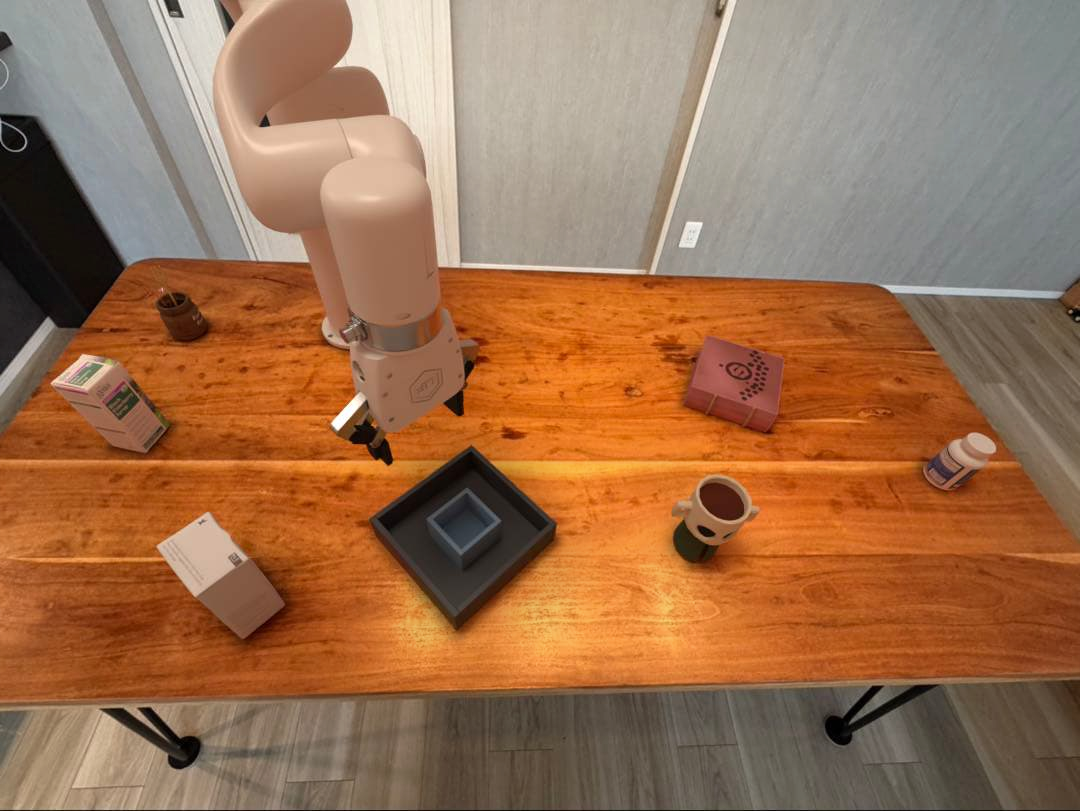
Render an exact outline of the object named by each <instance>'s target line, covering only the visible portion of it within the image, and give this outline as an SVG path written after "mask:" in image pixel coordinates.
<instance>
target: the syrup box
mask: <svg viewBox="0 0 1080 811" xmlns="http://www.w3.org/2000/svg"><path fill="white" fill-rule="evenodd" d="M50 385H51V387H52V388H53V389H54V390H55V391H56V392H57V393H59V395H61V397H63V399H64V400H65V401H67V402H68V403H69V405H70V406H72V407H73V409H75V410H76V411H77V412H78V413H79V414H80V415H81V416H82V418H84V419H85V420H86V421H87V422H88V423H89V424H90V425H91V426H92V427H93V428H94V429H95V430H96V431H97V432H98V433H99V434H100V435H101V436H102V437H103V438H104V439H105V440H106V441H107V442H108V443H109V444H110V445H111V446H112V447H115V448H120V449H123V450H128V451H133V452H138V453H142V454H148V453H149V451H150V449H151V448H152V447H153V446H154V445H155V444H156V443H157V441H158V440H159V439H160V438H161V437H162V436H163V435H164V434H165V432H166V431H167V430H168V429H169V428H170V427H171V424H170V422H169V421H168V420H167V419H166V417H165V416H164V415H163V414H162V413H161V411H160V410H159V409H158V408H157V406H156V405H155V404H154V403H153V402H152V400H151V399H150V397H148V395H147V394H146V393H145V391H144V390H143V389H142V387H141V386H140V385H139V384H138V383H137V382H136V381H135V379H134V378H133V376H132V375H131V374H130V373H129V372H128V370H127V369H126V368H125V367H124V365H122V363H121V362H120V361H119V360H115V359H111V358H108V357H103V356H97V355H90V354H86V353H85V354H84V353H82V354H81V355H80V356H79V358H78V359H77V360H76V361H74V362H73V363H72V364H71V365H70V366H68V367H67V368H66V369H64V371H63V372H61V373H60V374H59V375H58V376H57V377H56V378H54V379H53V380H52V381H51V382H50Z"/></svg>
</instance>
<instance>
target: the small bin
mask: <svg viewBox="0 0 1080 811" xmlns="http://www.w3.org/2000/svg"><path fill="white" fill-rule="evenodd" d="M501 522H502V521H501V520H500V519H499V518H498V517H497V516H496V515H495V514H494V513H493V512H492V511H491V510H490V509H489V508H488V507H487V506H486V505H485V504H484V503H483V502H482V501H481V500H480V499H479V498H478V497H477V496H476V495H475V494H473V493H472V492H471V491H470V490H469V489H468V488H466V489H465V490H463V491H462V492H461V493H459V494H458V495H457V496H456V497H454V498H453V499H452V500H450V501H449V502H448V503H446V504H445V505H444V506H443V507H441V508H440V509H439V510H437V511H436V512H435V513H433V514H432V515H431V516H430V517H428V518H427V524H428V529H429V533H430V536H431V538H432V539H433V540H434V541H435V542H436V543H437V544H438V545H439V546H440V547H441V548H442V549H443V551H444V552H445V553H446V554H447V555H448V556H449V557H450V558H451V559H452V560H453V561H454V562H455V564H456V565H457V566H458V567H459V568H460V569H461V570H462V571H463V570H464V569H466V568H467V567H468V566H469V565H470V564H471V563H472V562H474V561H475V560H476V559H477V558H478V557H479V556H480V555H482V554H483V553H484V552H485V551H486V550H487V549H489V548H490V547H491V546H492V545H493V544H494V543H495V542H497V541H498V540H499V539H500V538H501Z"/></svg>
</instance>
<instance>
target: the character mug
mask: <svg viewBox="0 0 1080 811" xmlns="http://www.w3.org/2000/svg"><path fill="white" fill-rule="evenodd" d="M760 510H761V508H760V507H759V506H758V505H753V504H752V497H751V496H750V494H749V492H748V490H747V489H746V488H745V487H744V486H743V485H742V484H741V483H740V482H739V481H737V480H736V479H735V478H732V477H730V476H727V475H724V474H720V473H719V474H717V473H716V474H708V475H707V476H705V477H703V478H702V479H700V480H699V482H698V483H697V485H696V487H695V488H694V490H693V492H692V493H691V495H690V496H689V499H688V500H677V501H676V502H675V504H674V505H673V507H672V509H671V515H672V517H674V518H683V519H682V520H681V521H680V523H679V524H678V525H677V526H676V527H675V528H674V530H673V535H672V536H673V537H672V541H673V544H674V547H675V550H676V551H677V552H678V553H679V554H680V556H681V558H684V559H686V560H688V561H690V562H691V563H696V561H697V559H698V558H699V559H701V558H702V559H701V562H700V563H701V564H702V563H703V564H704V563H706V562H708V561H710V560H712V559H713V557H714V556H715V554H716V553H717V551H718V549H719V548H720V546H721V545H723V544H725V543H727V542H729V541H731V540H732V539H733V538H734V537H735V536H736V535H737V534H738V532H739V531H740V530H741V528H742V527H744V525H745V523H748V522H749V523H750V522H752V521H754V520H755V518H756V517H757V516H758V515H759V514H760Z"/></svg>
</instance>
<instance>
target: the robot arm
mask: <svg viewBox="0 0 1080 811" xmlns="http://www.w3.org/2000/svg"><path fill="white" fill-rule="evenodd" d="M219 2H220V3H221V5H222V6H223V7H224V9H225V10H226V12H227V13H228V15H229V16H230V18H231V20H232V22H233V23H234V25H233V27H232V28H231V30H230V31H229V33H228V35H227V36H226V38H225V40H224V42H223V45H222V47H221V49H220V51H219V54H218V56H217V60H216V62H215V66H214V71H213V76H212V101H213V108H214V113H215V117H216V121H217V125H218V129H219V131H220V135H221V138H222V140H223V143H224V146H225V150H226V153H227V156H228V158H229V163H230V166H231V169H232V172H233V175H234V178H235V181H236V184H237V186H238V189H239V191H240V195H241V197H242V198H243V200H244V202H245V205H246V207H247V208H248V210H249V211H250V213H251V215H253V217H254V218H255V219H256V220H257V221H258V222H259V223H260V224H261V225H263V226H264V227H265V228H267V229H269V230H271V231H274V232H277V233H282V234H294V233H298V234H299V237H300V239H301V242H302V245H303V247H304V250H305V253H306V257H307V259H308V262H309V265H310V269H311V270H312V271H311V272H312V274H313V277H314V281H315V284H316V287H317V290H318V293H319V296H320V299H321V302H322V305H323V309H324V312H325V315H326V316H325V317H324V319H323V320H322V324H321V332H322V335H323V337H324V339H325V340H326V342H328V343H329V344H330V345H332V346H333V347H336V348H339V349H343V350H349V360H350V369H351V376H352V382H353V386H354V391H355V394H356V395H355V396H354V397H353V398H352V399H351V401H349V403H348V404H347V405H346V406H345V407H344V408H343V409H342V411H340V413H339V414H338V415H337V416H336V417H335V418H334V419H333V420H332V421H331V423H330V424H329V429H330V430H331V432H333V433H334V434H335V435H336V437H337V438H340V439H342V440H345V441H347V442H350V443H351V444H352V445H365V446H366V449H367V451H368V454H369V455H370V456H371V457H372V458H373V459H374V460H375V461H378V460H381V461H382V462H383V463H384V464H385V465H386V466H387V467H390V466H391V465H393V462H394V457H393V453H392V450H391V447H390V443H389V441H388V440H387V439H386V438H385V437H386V436H387V434H393V433H396V432H399V431H401V430H404V429H405V428H406V427H408V426H410V425H412V424H413V423H415V422H416V421H418V420H419V419H420V418H423V417H424V416H426V415H427V414H429V413H430V412H432V411H434V410H435V409H436V408H438V407H439V406H441V405H442V404H443V405H444V406H445V407H446V408H447V409H449V411H451V413H453V414H454V415H455V416H456V417H459V418H460V417H462V416H463V415H465V406H464V404H465V403H464V401H465V399H464V398H465V396H464V390H466V389H467V387H468V385H469V382H468V381H467V380H468V378H469V376H471V373H472V372H473V370H474V368H475V366H476V365H475V362H474V361H476V360H477V356H478V354H479V352H480V349H481V345H480V344H479V343H477V342H476V341H475V340H473V339H472V338H469V339H460V338H459V336H458V333H457V329H456V326H455V323H454V321H453V318H452V316H451V313H450V311H449V310H448V309H447V308H446V307H445V306H443V304H442V294H441V283H440V272H439V260H438V251H437V239H436V238H437V237H436V229H435V227H436V226H435V218H434V208H433V207H434V206H433V199H432V193H431V192H432V191H431V188H430V185H429V183H428V181H427V165H426V159H425V158H426V157H425V154H424V149H423V146H422V144H421V143H422V142H421V140H420V139H419V137H418V136H417V135H416V134H414V133H413V131H412V129H411V128H410V126H409V125H408V124H407V123H406V122H405V121H404V120H402V119H401V118H399V117H397V116H394V115H391V112H390V108H389V103H388V99H387V96H386V93H385V90H384V88H383V86H382V84H381V82H380V80H379V78H378V77H377V76H376V75H375V73H373V72H372V71H371V70H370V69H368V68H366V67H363V66H357V65H347V66H346V65H345V66H337V65H338V64H339V62H341V60H342V59H344V57H345V55H346V54H347V53H348V50H349V49H350V46H351V43H352V40H353V34H354V33H353V29H354V24H353V17H352V14H351V10H350V7H349V5H348V1H347V0H219ZM264 117H267V120H268V122H269V126H263V127H262V126H261V124H262V121H263V120H264ZM260 126H261V127H260ZM373 422H375V424H376V427H374V425H372V424H373Z"/></svg>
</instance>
